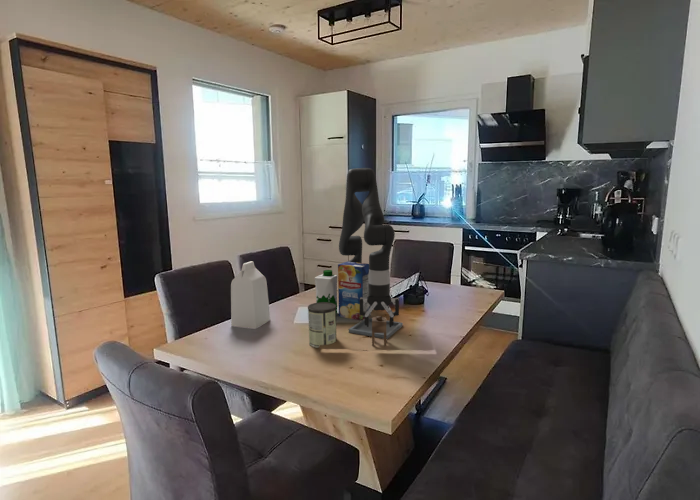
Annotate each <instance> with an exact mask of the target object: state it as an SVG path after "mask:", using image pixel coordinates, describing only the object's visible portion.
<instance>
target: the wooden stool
mask: <svg viewBox="0 0 700 500" xmlns="http://www.w3.org/2000/svg"><path fill="white" fill-rule="evenodd" d="M371 318H372V336H371V346H372V347H375V338H376V337H375V333H384V339H383V346H384V347H387V339H386V320H387V317H384V316H383V317H382V316H381V315H376V316H375V317H374V316H373V317H372V316H371Z"/></svg>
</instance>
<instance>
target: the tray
mask: <svg viewBox="0 0 700 500" xmlns="http://www.w3.org/2000/svg"><path fill="white" fill-rule="evenodd" d="M403 326H404V325H403V322H400V321H394V324H393V326H392V327H390V326H389V319H388V320H387V319H386V340H388V339H390V338H391V336H393V335H394V334H395V333H397V331H399V329H401V328H402V327H403ZM348 333H350V334H353V335H354V334H356V335H362V336H367V337H372V317H369V327H367V325H365V319H363V320H359V322H358V323H355V324H354V325H353V326H351V327H350V328H348ZM375 338H377V339H378V338H379V339H383V340H384V333H375Z"/></svg>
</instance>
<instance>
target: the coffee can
mask: <svg viewBox="0 0 700 500" xmlns="http://www.w3.org/2000/svg"><path fill="white" fill-rule="evenodd" d="M307 312H308V313H307V315H308V316H307V317H308V344H309V346H311V347H313V348H317V349H318V348H320V346H328V345H331V344H334V343H335V342H337V313H336V305H335V304H333V303H328V302H319V303H316V302H314V303H311V304H309V305H308V306H307Z"/></svg>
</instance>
